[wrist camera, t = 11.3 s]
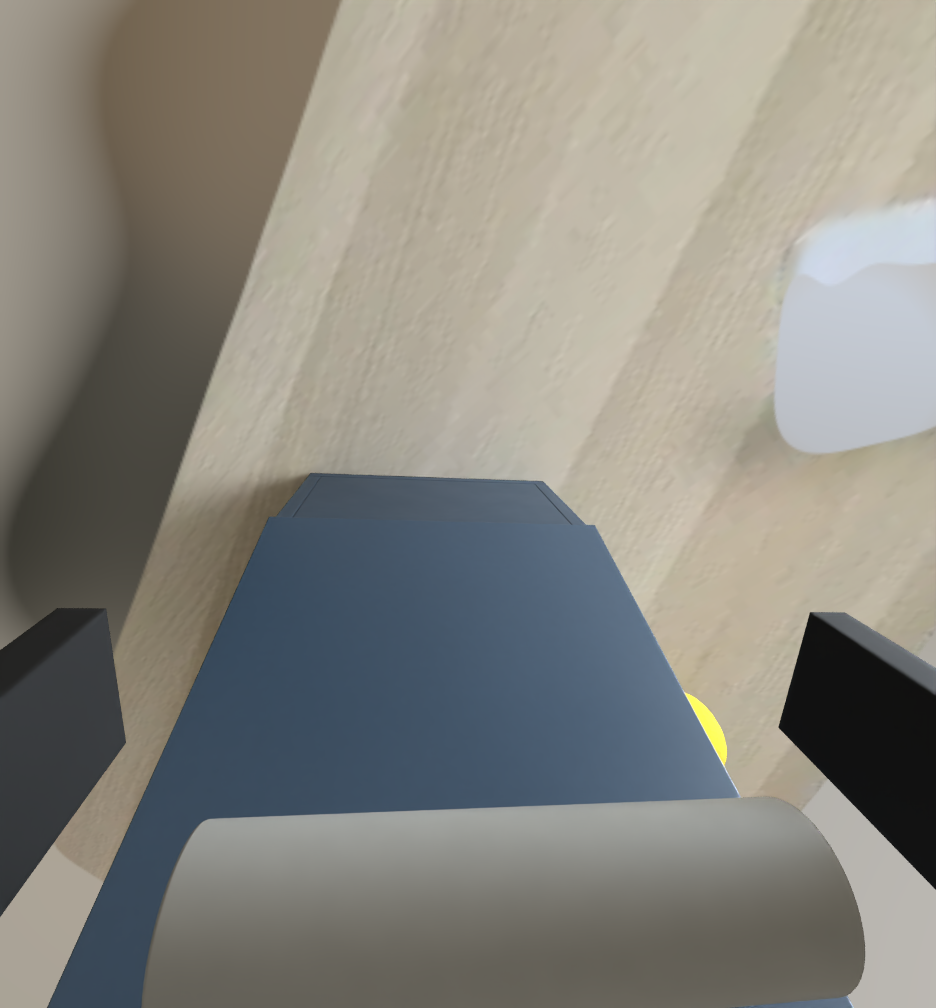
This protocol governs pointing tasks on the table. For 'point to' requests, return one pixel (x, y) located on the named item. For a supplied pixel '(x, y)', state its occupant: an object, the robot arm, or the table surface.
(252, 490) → the table surface
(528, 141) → the table surface
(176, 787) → the lid
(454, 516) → the chest
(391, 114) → the table surface
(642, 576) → the table surface
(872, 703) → the robot arm
